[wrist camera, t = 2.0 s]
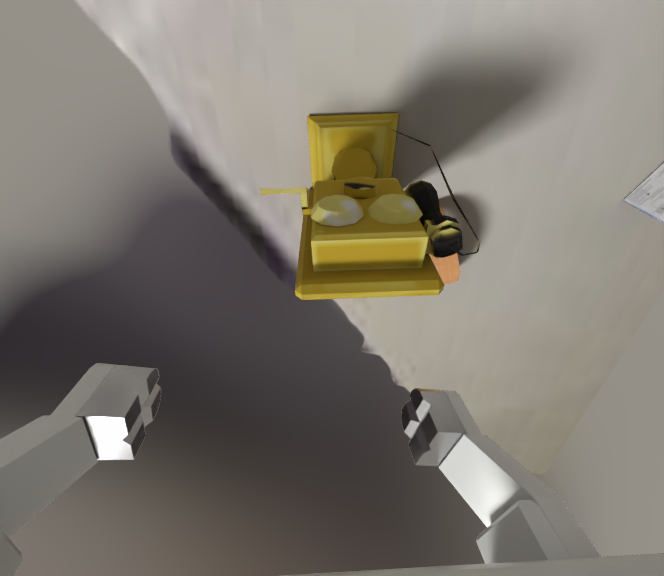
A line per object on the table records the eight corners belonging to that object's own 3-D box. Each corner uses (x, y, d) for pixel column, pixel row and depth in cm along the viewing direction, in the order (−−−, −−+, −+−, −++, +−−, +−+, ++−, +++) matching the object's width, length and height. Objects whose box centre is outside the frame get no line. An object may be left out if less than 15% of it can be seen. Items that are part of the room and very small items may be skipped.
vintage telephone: (454, 110, 47) (575, 173, 24) (436, 191, 56) (512, 292, 34) (266, 117, 47) (215, 186, 24) (279, 197, 56) (249, 301, 34)
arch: (437, 199, 57) (455, 222, 50) (448, 271, 70) (463, 298, 62) (409, 209, 59) (422, 233, 51) (424, 278, 71) (437, 305, 64)
